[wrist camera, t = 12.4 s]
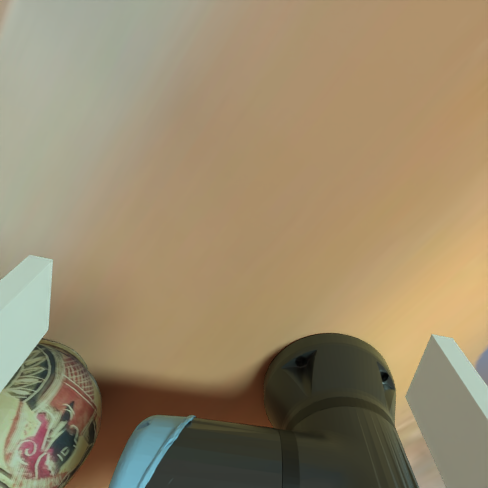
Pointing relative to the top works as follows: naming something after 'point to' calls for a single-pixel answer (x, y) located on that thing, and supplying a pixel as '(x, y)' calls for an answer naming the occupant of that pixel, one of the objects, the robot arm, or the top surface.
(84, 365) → the ceramic jug
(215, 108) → the top surface
